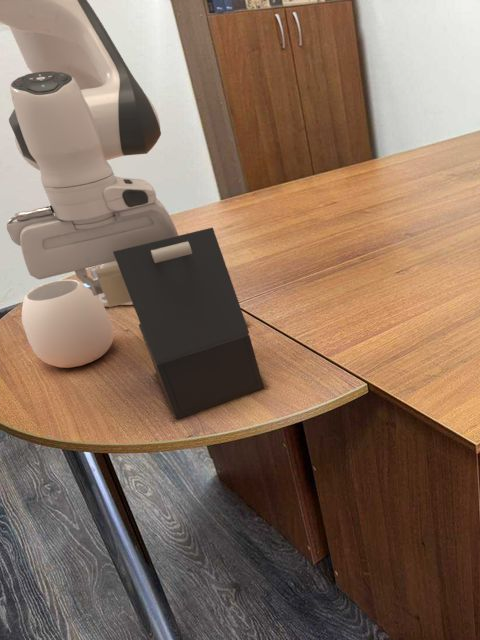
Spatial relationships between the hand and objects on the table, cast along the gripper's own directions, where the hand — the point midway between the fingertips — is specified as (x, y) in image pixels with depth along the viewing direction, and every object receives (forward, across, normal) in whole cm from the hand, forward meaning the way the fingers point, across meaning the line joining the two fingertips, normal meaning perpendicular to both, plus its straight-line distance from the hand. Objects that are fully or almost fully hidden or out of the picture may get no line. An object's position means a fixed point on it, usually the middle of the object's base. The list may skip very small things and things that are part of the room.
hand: (120, 287), depth 98 cm
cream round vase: (+19, -10, +20) cm, 29 cm away
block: (+2, 0, 0) cm, 2 cm away
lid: (+1, +8, -8) cm, 11 cm away
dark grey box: (+18, +8, -4) cm, 20 cm away
